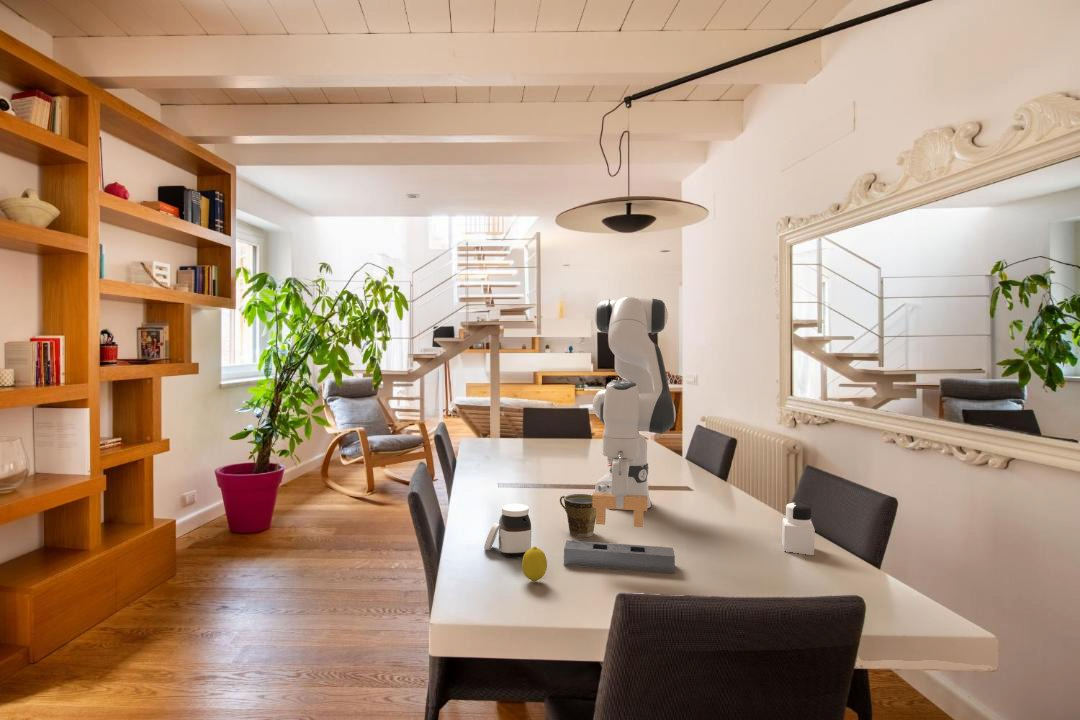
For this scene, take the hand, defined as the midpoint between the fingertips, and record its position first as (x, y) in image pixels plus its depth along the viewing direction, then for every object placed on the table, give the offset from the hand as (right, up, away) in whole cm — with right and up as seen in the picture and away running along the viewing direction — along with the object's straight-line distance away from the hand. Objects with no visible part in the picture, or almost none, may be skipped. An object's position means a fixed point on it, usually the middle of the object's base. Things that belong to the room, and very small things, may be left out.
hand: (619, 505), depth 136 cm
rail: (0, -15, +1) cm, 15 cm away
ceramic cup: (-9, -14, +24) cm, 29 cm away
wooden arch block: (0, -5, 0) cm, 5 cm away
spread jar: (-28, -14, +8) cm, 32 cm away
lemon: (-20, -15, -11) cm, 27 cm away
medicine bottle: (+49, -15, +13) cm, 53 cm away
